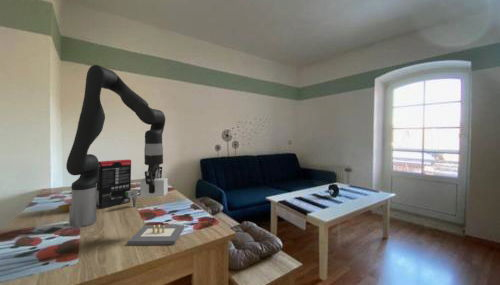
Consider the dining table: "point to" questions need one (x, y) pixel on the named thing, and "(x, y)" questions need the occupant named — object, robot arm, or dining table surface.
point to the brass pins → (158, 229)
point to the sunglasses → (64, 207)
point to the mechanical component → (132, 195)
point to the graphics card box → (113, 183)
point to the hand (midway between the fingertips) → (154, 191)
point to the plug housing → (160, 187)
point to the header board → (157, 235)
